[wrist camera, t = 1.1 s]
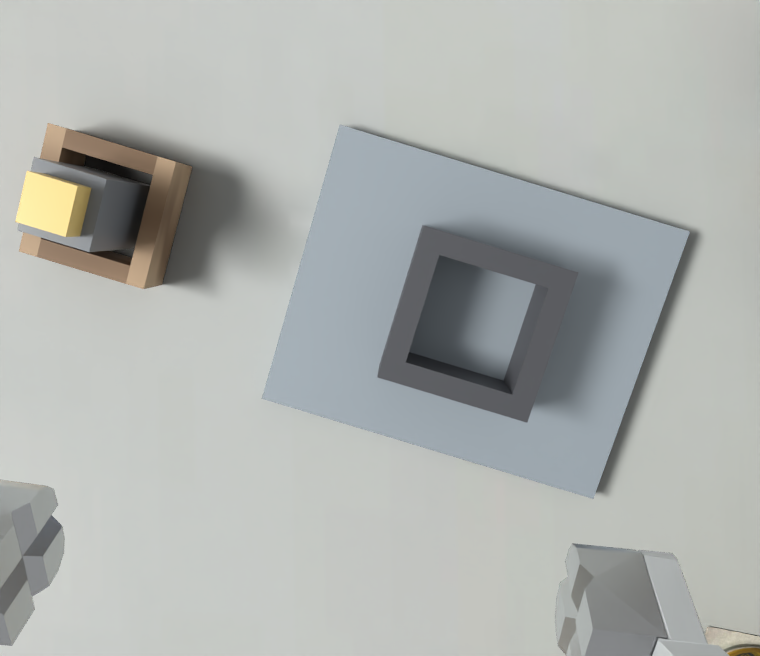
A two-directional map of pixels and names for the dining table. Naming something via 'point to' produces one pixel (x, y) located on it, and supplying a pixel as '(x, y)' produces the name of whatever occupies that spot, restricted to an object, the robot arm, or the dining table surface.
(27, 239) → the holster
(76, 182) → the plug
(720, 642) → the condiment
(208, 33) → the dining table surface
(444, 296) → the port
